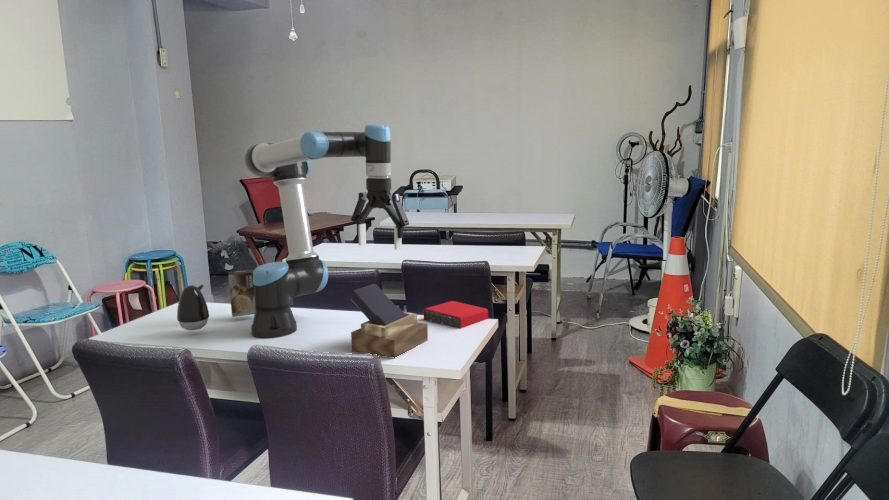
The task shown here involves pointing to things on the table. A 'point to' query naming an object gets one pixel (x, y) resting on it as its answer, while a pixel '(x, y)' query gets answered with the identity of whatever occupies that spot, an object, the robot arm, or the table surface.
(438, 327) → the table surface
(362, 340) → the display riser
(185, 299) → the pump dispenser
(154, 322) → the table surface
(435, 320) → the red device housing
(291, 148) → the robot arm
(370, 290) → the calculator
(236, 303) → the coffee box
